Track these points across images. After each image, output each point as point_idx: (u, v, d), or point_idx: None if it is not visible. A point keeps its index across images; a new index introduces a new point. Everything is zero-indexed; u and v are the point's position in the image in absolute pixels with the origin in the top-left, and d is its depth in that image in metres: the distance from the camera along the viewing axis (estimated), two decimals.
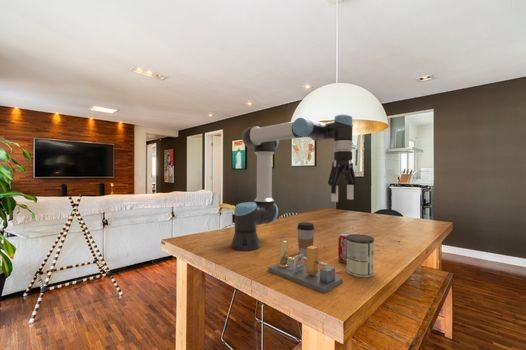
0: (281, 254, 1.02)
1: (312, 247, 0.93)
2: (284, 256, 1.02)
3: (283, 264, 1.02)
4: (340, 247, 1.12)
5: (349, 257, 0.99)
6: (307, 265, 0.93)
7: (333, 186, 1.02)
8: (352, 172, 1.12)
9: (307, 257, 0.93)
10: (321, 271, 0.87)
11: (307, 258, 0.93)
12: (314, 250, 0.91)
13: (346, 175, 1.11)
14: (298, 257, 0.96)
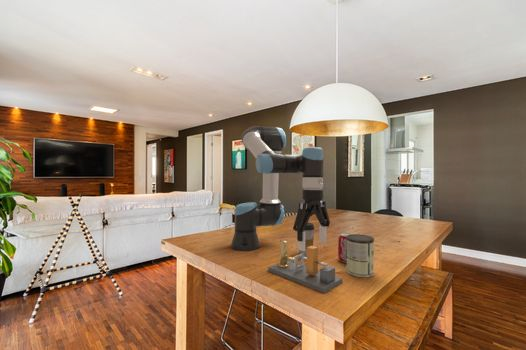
0: (281, 254, 1.02)
1: (312, 247, 0.93)
2: (284, 256, 1.02)
3: (283, 264, 1.02)
4: (340, 247, 1.12)
5: (349, 257, 0.99)
6: (307, 265, 0.93)
7: (299, 233, 0.87)
8: (325, 212, 0.97)
9: (307, 257, 0.93)
10: (321, 271, 0.87)
11: (307, 258, 0.93)
12: (314, 250, 0.91)
13: (317, 216, 0.96)
14: (298, 257, 0.96)
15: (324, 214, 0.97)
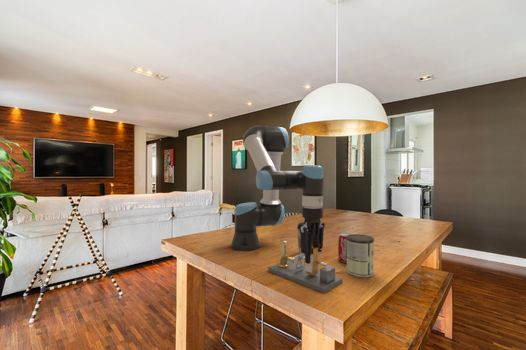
0: (281, 254, 1.02)
1: (312, 247, 0.93)
2: (284, 256, 1.02)
3: (283, 264, 1.02)
4: (340, 247, 1.12)
5: (349, 257, 0.99)
6: None
7: (307, 255, 0.90)
8: (321, 233, 0.95)
9: None
10: (321, 271, 0.87)
11: None
12: (314, 250, 0.91)
13: (313, 236, 0.94)
14: (298, 257, 0.96)
15: (319, 236, 0.96)
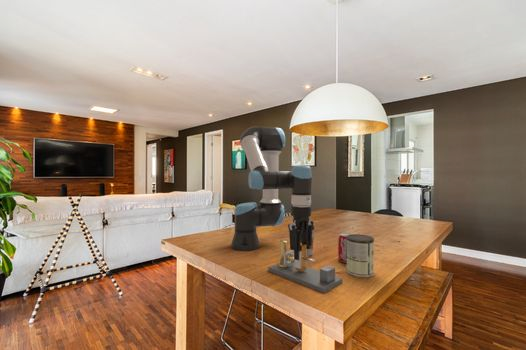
0: (281, 254, 1.02)
1: (301, 244, 0.97)
2: None
3: (283, 264, 1.02)
4: (340, 247, 1.12)
5: (349, 257, 0.99)
6: None
7: (296, 252, 0.94)
8: (310, 231, 0.99)
9: None
10: (321, 271, 0.87)
11: None
12: (303, 247, 0.95)
13: (302, 234, 0.98)
14: (288, 254, 1.00)
15: (308, 234, 0.99)
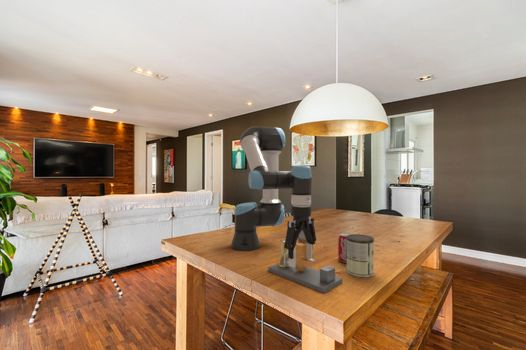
0: (281, 254, 1.02)
1: (301, 244, 0.97)
2: None
3: (283, 264, 1.02)
4: (340, 247, 1.12)
5: (349, 257, 0.99)
6: (296, 262, 0.96)
7: (290, 251, 0.92)
8: (312, 229, 1.00)
9: (296, 254, 0.96)
10: (321, 271, 0.87)
11: (296, 255, 0.96)
12: (303, 247, 0.95)
13: (305, 232, 0.99)
14: None
15: (311, 231, 1.01)
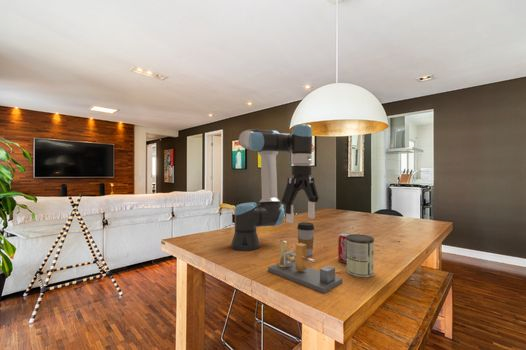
0: (281, 254, 1.02)
1: (301, 244, 0.97)
2: None
3: (283, 264, 1.02)
4: (340, 247, 1.12)
5: (349, 257, 0.99)
6: (296, 262, 0.96)
7: (287, 205, 0.91)
8: (313, 188, 1.01)
9: (296, 254, 0.96)
10: (321, 271, 0.87)
11: (296, 255, 0.96)
12: (303, 247, 0.95)
13: (306, 191, 1.00)
14: (288, 254, 1.00)
15: (313, 190, 1.01)
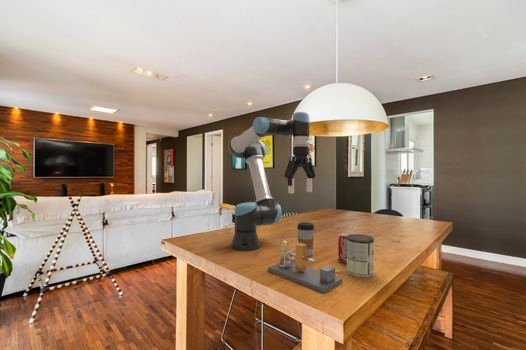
0: (281, 254, 1.02)
1: (301, 244, 0.97)
2: None
3: (283, 264, 1.02)
4: (340, 247, 1.12)
5: (349, 257, 0.99)
6: (296, 262, 0.96)
7: (289, 179, 1.09)
8: (311, 166, 1.19)
9: (296, 254, 0.96)
10: (321, 271, 0.87)
11: (296, 255, 0.96)
12: (303, 247, 0.95)
13: (305, 169, 1.18)
14: (288, 254, 1.00)
15: (310, 168, 1.20)
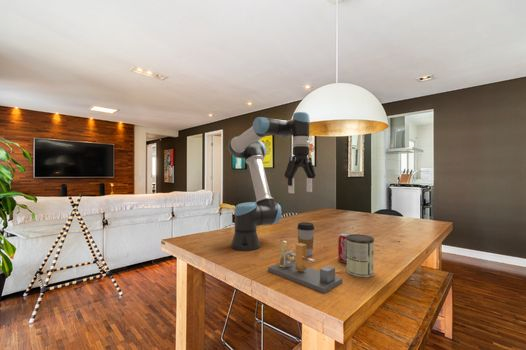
0: (281, 254, 1.02)
1: (301, 244, 0.97)
2: None
3: (283, 264, 1.02)
4: (340, 247, 1.12)
5: (349, 257, 0.99)
6: (296, 262, 0.96)
7: (289, 179, 1.09)
8: (311, 166, 1.19)
9: (296, 254, 0.96)
10: (321, 271, 0.87)
11: (296, 255, 0.96)
12: (303, 247, 0.95)
13: (305, 169, 1.19)
14: (288, 254, 1.00)
15: (310, 168, 1.20)
